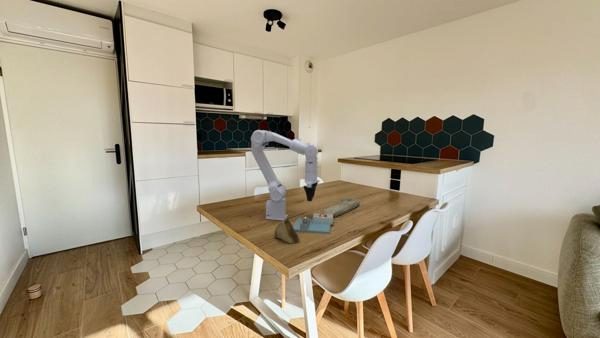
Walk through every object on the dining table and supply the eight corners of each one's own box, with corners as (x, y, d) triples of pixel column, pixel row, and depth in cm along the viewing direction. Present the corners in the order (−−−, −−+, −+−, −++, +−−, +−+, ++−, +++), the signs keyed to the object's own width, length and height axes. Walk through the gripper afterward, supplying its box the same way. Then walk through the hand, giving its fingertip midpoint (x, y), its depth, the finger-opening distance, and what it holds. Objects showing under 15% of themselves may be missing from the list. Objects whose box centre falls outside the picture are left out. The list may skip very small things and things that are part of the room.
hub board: (292, 231, 109) (292, 229, 109) (297, 219, 122) (297, 218, 122) (329, 233, 106) (329, 231, 106) (330, 222, 120) (331, 220, 120)
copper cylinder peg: (319, 222, 117) (319, 215, 117) (320, 220, 119) (320, 213, 119) (324, 222, 117) (324, 215, 116) (324, 221, 119) (324, 214, 118)
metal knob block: (300, 231, 109) (300, 219, 108) (302, 224, 117) (303, 214, 116) (307, 231, 108) (307, 220, 108) (309, 224, 116) (310, 214, 115)
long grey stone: (315, 219, 129) (331, 224, 123) (315, 209, 127) (332, 214, 121) (348, 201, 155) (363, 205, 149) (349, 193, 154) (364, 196, 148)
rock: (266, 231, 103) (273, 237, 93) (278, 213, 104) (285, 217, 95) (287, 243, 106) (295, 251, 97) (298, 226, 108) (307, 231, 98)
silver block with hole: (332, 224, 114) (332, 218, 114) (312, 223, 116) (312, 217, 116) (332, 220, 120) (333, 214, 120) (314, 219, 121) (314, 213, 121)
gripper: (318, 173, 112) (317, 203, 114) (320, 169, 126) (320, 195, 128) (302, 173, 113) (302, 202, 115) (306, 168, 127) (306, 194, 129)
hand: (310, 198), depth 121 cm, fingers open, 7 cm apart
